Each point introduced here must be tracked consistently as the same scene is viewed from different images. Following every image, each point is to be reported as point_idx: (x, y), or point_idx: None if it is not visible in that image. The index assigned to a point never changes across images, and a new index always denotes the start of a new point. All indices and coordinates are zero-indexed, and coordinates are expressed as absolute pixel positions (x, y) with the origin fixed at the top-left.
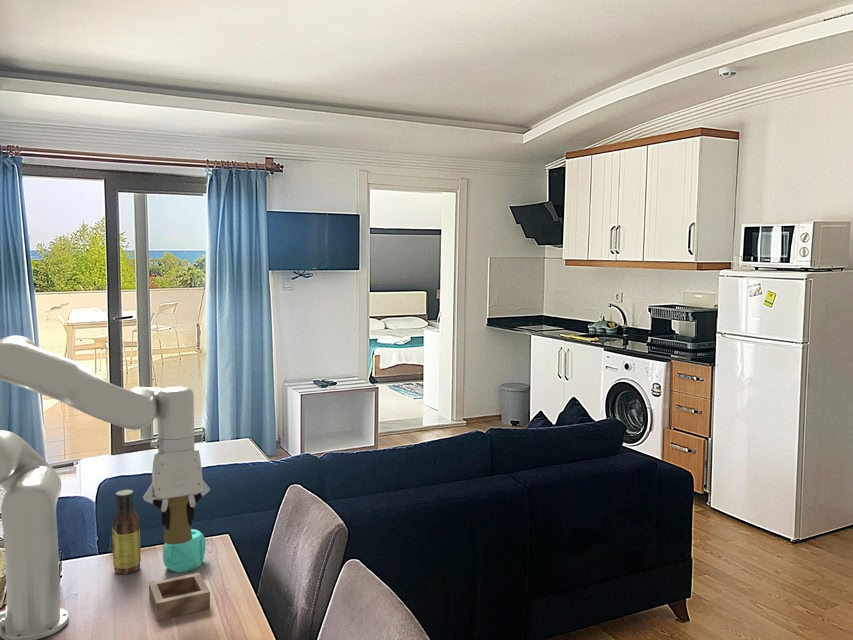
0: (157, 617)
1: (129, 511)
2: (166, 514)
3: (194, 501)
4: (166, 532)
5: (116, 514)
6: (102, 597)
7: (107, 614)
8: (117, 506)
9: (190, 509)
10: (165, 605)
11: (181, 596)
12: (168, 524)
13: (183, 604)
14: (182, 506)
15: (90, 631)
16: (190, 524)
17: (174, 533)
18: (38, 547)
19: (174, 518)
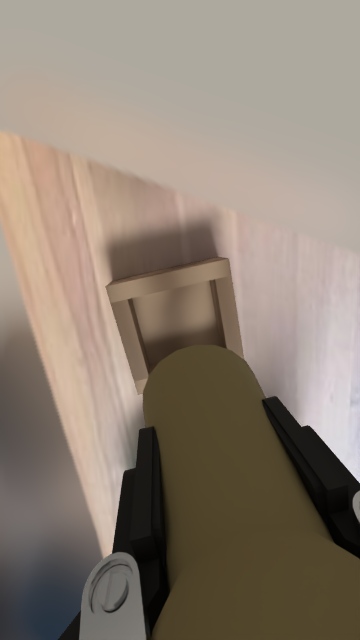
0: (219, 257)
1: None
2: (329, 464)
3: (87, 635)
4: (263, 396)
5: None
6: (313, 379)
7: (306, 311)
8: None
9: (138, 524)
10: (207, 262)
11: (173, 279)
12: (275, 413)
13: (167, 270)
14: (215, 547)
15: (336, 250)
16: (145, 428)
17: (226, 373)
18: None
19: (254, 437)
